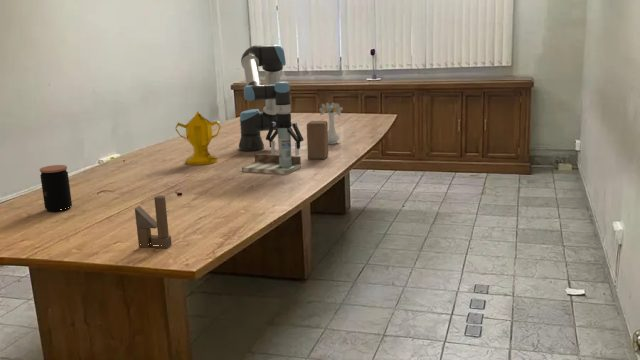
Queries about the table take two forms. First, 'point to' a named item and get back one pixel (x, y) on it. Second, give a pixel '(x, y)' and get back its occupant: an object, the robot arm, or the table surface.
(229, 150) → the table surface
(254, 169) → the marking board
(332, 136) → the flower vase
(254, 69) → the robot arm
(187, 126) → the trophy cup
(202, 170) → the table surface
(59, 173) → the coffee jar
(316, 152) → the wooden block
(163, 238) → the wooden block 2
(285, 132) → the spray paint can
